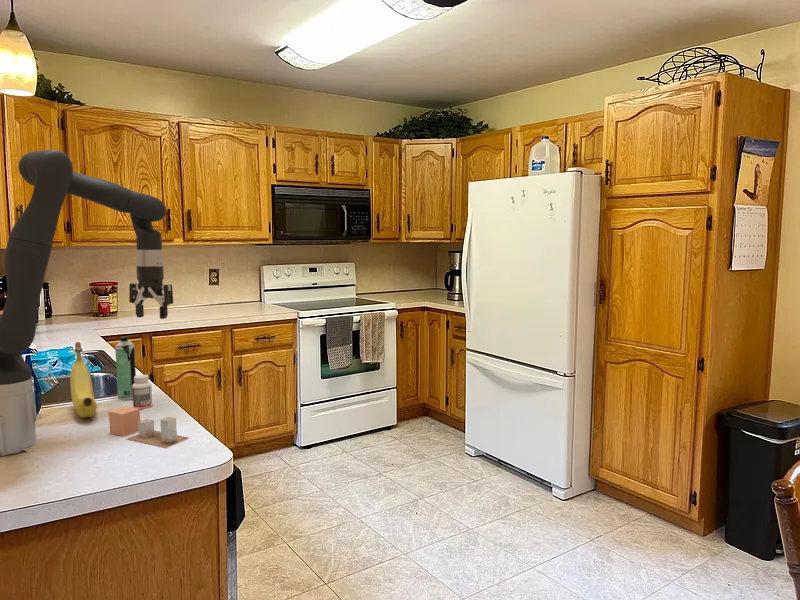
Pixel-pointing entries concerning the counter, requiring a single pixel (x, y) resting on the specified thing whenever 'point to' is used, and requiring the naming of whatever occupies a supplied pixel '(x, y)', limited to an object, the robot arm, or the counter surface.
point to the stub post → (146, 428)
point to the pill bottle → (142, 392)
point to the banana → (82, 387)
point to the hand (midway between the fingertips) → (151, 317)
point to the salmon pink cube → (124, 420)
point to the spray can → (125, 368)
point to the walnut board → (156, 440)
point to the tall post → (168, 430)
